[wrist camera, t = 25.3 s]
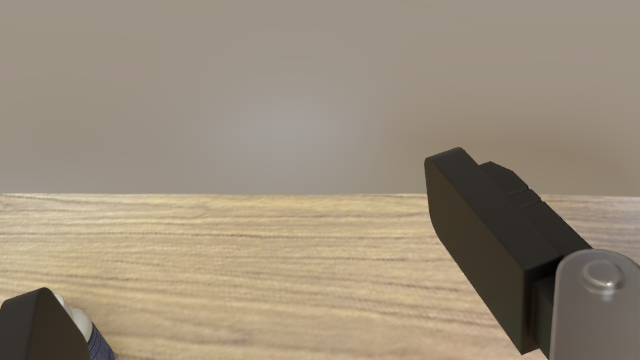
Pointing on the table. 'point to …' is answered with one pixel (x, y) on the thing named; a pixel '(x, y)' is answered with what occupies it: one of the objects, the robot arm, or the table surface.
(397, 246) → the table surface
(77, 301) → the table surface
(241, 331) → the table surface
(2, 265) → the table surface
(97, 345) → the pill bottle
